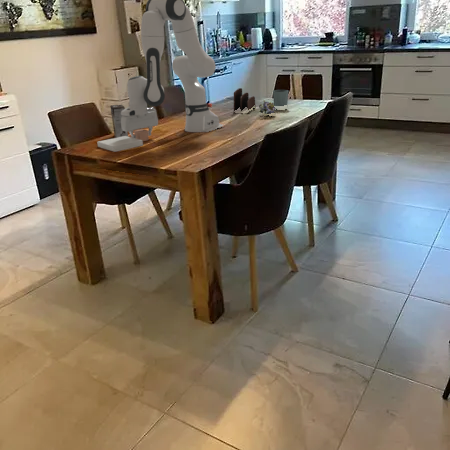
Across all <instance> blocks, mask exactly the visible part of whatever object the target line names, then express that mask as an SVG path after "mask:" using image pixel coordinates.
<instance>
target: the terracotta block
mask: <svg viewBox="0 0 450 450" xmlns="http://www.w3.org/2000/svg"><path fill="white" fill-rule="evenodd" d="M133 134H134V135H136V139H139V140H142V141H143V142H146V141H150V140H149V139H150V138H149V136H148V130H147V129H144V128H142V129H137V130H133Z"/></svg>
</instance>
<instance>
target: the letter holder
mask: <svg viewBox="0 0 450 450" xmlns="http://www.w3.org/2000/svg"><path fill="white" fill-rule="evenodd" d="M254 105H255V106H256V97H255V96H254V95H253V96H250V97H249V92H244V93H243V88H237V89H236V90H234V92H233V112H234V111H235V110H237V109H238V108H239V107H240V109H241V111H242V110H243V109H244V108H245V107H247V108H248V110H249V109H251V108H252V107H253V106H254Z"/></svg>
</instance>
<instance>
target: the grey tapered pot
mask: <svg viewBox="0 0 450 450" xmlns="http://www.w3.org/2000/svg"><path fill="white" fill-rule="evenodd" d="M289 93H290V92H289V90H288V89H276V90H272V95H273V104H274V106H284V105H287V106H288V102H289Z"/></svg>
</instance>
